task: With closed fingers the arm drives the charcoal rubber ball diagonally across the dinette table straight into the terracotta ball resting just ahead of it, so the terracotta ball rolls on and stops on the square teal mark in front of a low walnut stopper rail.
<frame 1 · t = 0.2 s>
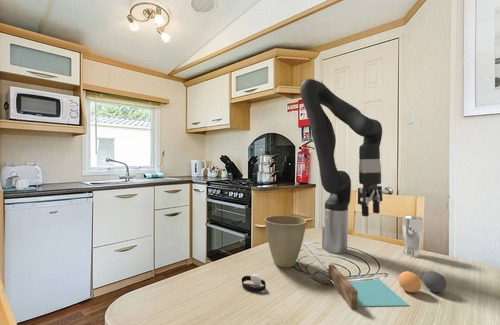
hand: (370, 214, 93), 17 cm above the table, tool pointing down, fingers open, 8 cm apart
walnut stopper: (341, 292, 70), on the table
plant pot: (284, 263, 90), on the table
charcoal ball: (434, 281, 72), on the table
watch: (253, 289, 72), on the table
terracotta ball: (409, 281, 71), on the table
beer glass: (412, 255, 100), on the table
teal mark: (368, 291, 71), on the table
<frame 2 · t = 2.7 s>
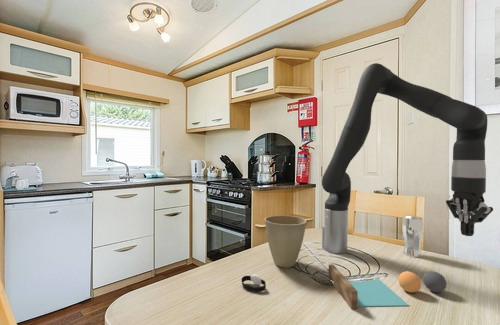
hand: (466, 235, 72), 16 cm above the table, tool pointing down, fingers closed
nothing on the table moved.
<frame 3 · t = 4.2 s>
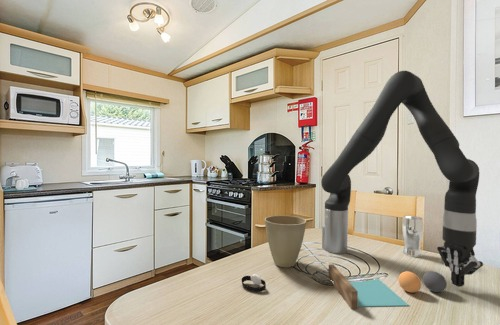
hand: (457, 285, 73), 1 cm above the table, tool pointing down, fingers closed
nothing on the table moved.
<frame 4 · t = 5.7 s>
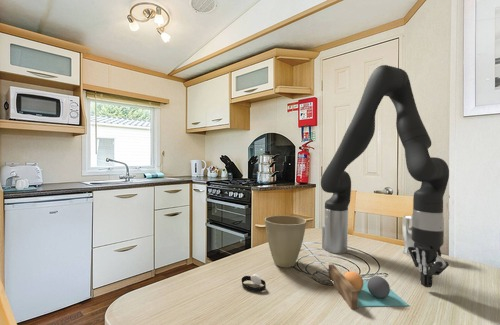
hand: (426, 285, 72), 2 cm above the table, tool pointing down, fingers closed
charcoal ball: (378, 286, 68), on the table
terracotta ball: (352, 281, 71), on the table
everything else where it was.
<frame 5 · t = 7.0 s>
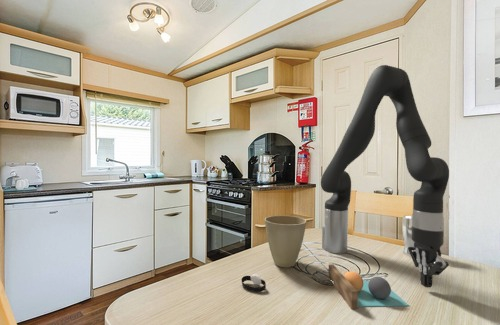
hand: (426, 285, 72), 2 cm above the table, tool pointing down, fingers closed
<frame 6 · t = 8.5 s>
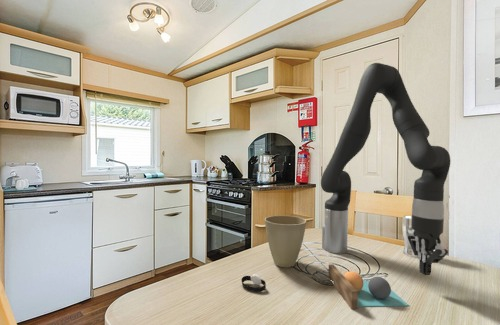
hand: (424, 273, 72), 5 cm above the table, tool pointing down, fingers closed
nothing on the table moved.
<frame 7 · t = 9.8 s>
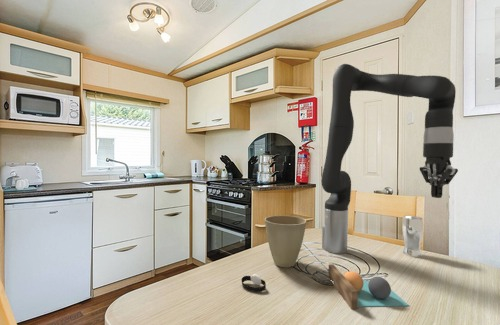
hand: (436, 197, 78), 26 cm above the table, tool pointing down, fingers closed
nothing on the table moved.
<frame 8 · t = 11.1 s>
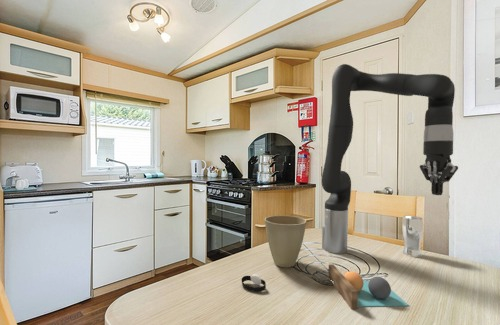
hand: (436, 194, 79), 27 cm above the table, tool pointing down, fingers closed
nothing on the table moved.
at the end: terracotta ball 4.5 cm from the teal mark (horizontally); terracotta ball never touched the robot; charcoal ball first touched terracotta ball at 4.5 s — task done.
